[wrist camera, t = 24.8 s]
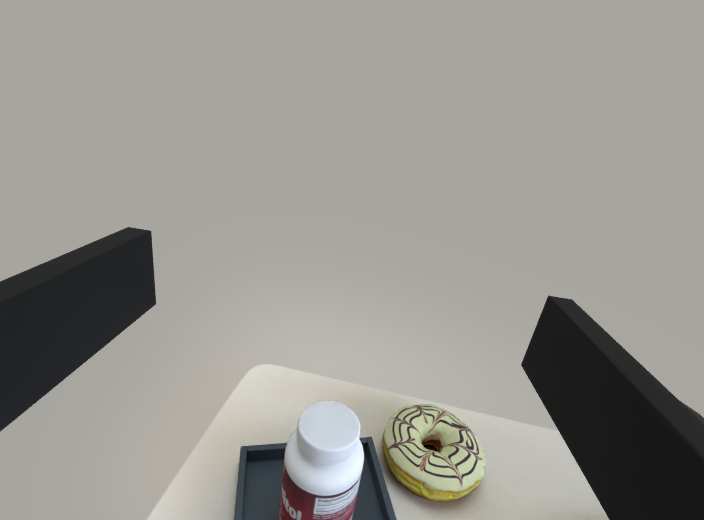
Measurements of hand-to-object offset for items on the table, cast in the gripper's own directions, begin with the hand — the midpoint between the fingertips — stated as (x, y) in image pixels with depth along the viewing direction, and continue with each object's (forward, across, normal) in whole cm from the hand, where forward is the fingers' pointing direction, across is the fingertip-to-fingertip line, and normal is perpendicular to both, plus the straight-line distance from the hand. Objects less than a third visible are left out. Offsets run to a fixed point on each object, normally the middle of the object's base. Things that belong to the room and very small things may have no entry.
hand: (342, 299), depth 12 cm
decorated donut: (+18, +11, -28) cm, 35 cm away
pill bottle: (+10, 0, -27) cm, 28 cm away
